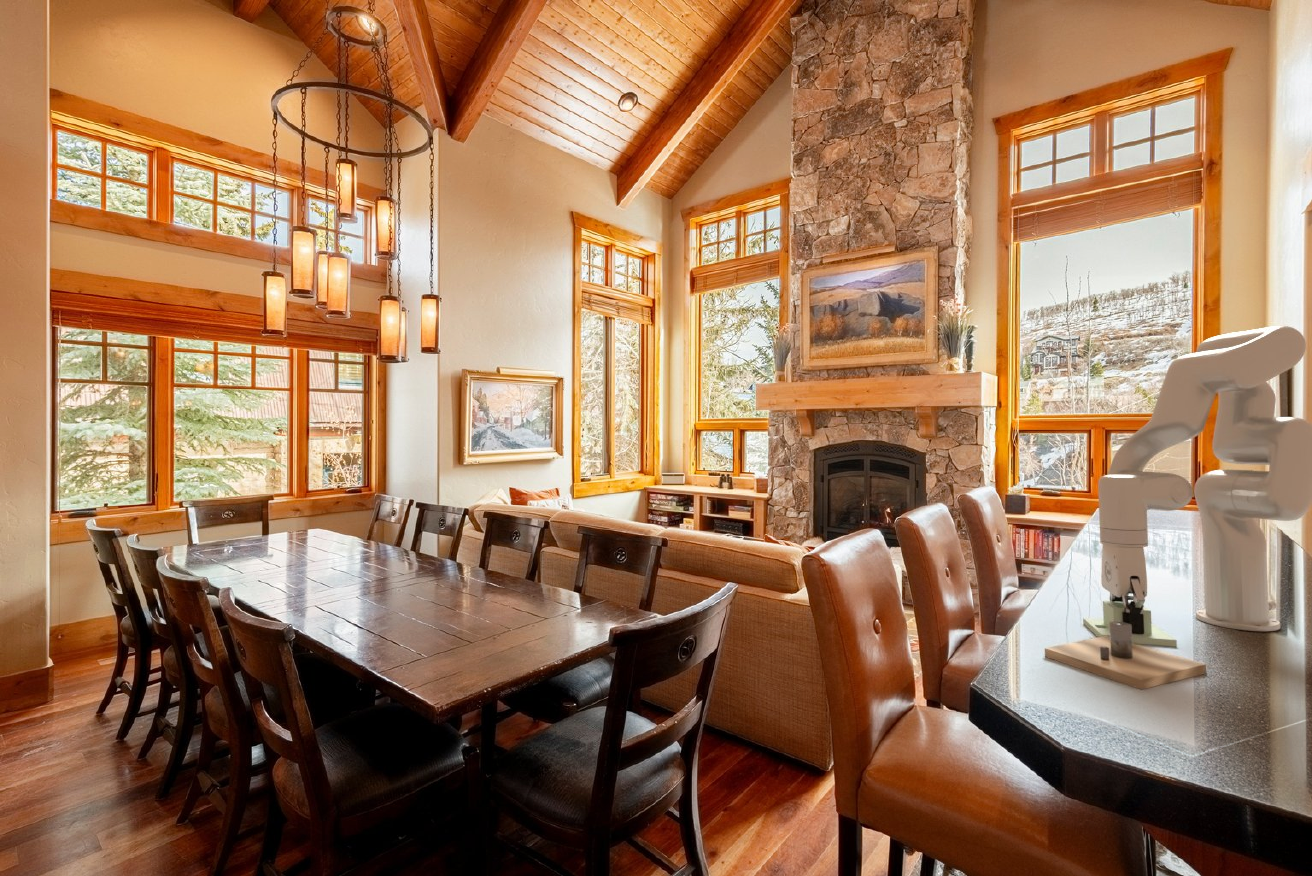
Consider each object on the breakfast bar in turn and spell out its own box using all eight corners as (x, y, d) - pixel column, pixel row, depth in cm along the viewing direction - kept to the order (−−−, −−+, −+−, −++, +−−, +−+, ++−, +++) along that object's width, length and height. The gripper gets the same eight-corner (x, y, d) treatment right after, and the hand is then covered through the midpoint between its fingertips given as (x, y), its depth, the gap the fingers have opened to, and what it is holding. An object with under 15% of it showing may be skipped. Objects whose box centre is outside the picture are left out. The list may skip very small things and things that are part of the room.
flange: (1150, 627, 123) (1149, 599, 123) (1176, 646, 112) (1175, 615, 112) (1083, 623, 127) (1082, 596, 127) (1102, 641, 116) (1101, 611, 116)
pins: (1118, 651, 107) (1117, 620, 107) (1136, 657, 104) (1135, 625, 104) (1093, 657, 105) (1092, 625, 105) (1111, 662, 102) (1110, 630, 102)
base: (1106, 643, 115) (1105, 636, 115) (1206, 673, 100) (1206, 664, 100) (1044, 656, 110) (1044, 648, 110) (1141, 689, 95) (1140, 679, 95)
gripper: (1087, 530, 129) (1090, 614, 129) (1116, 543, 113) (1120, 640, 113) (1129, 531, 127) (1132, 617, 127) (1166, 545, 111) (1169, 644, 110)
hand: (1126, 627), depth 120 cm, fingers closed on flange, 6 cm apart
